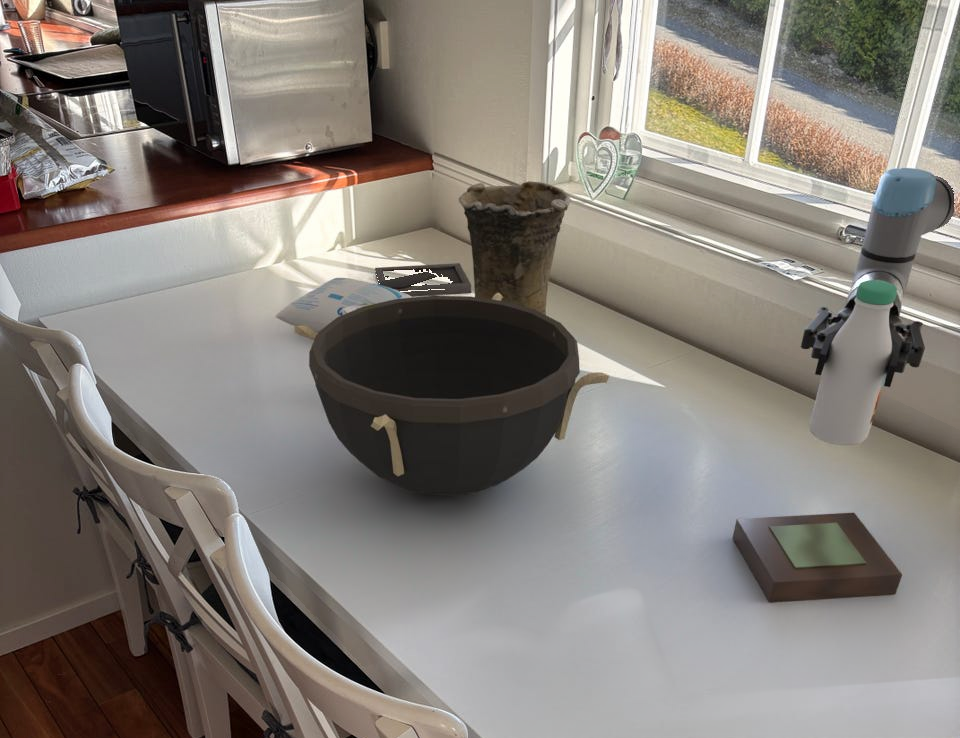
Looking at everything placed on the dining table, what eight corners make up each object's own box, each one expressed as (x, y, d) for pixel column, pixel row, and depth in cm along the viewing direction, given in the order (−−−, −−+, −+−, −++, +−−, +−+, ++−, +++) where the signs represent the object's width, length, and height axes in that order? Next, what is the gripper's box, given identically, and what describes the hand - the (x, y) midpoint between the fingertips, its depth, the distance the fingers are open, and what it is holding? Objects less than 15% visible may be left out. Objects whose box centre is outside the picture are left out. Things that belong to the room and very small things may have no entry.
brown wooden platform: (848, 531, 127) (854, 510, 125) (895, 594, 116) (903, 573, 114) (732, 538, 125) (736, 517, 123) (769, 602, 115) (774, 581, 113)
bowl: (373, 573, 118) (362, 426, 105) (290, 447, 143) (274, 316, 130) (617, 511, 130) (634, 372, 117) (502, 404, 155) (506, 280, 142)
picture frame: (382, 298, 190) (471, 292, 193) (382, 288, 189) (471, 282, 192) (375, 275, 200) (459, 270, 203) (374, 265, 199) (459, 261, 202)
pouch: (363, 315, 163) (418, 275, 176) (271, 300, 169) (331, 262, 183) (368, 359, 168) (421, 317, 181) (278, 342, 174) (336, 303, 188)
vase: (471, 375, 163) (472, 209, 146) (451, 334, 177) (449, 178, 160) (572, 366, 166) (584, 203, 149) (544, 327, 180) (553, 173, 163)
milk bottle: (859, 452, 125) (904, 301, 112) (801, 437, 128) (838, 288, 115) (873, 429, 130) (917, 282, 118) (817, 415, 133) (854, 270, 121)
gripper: (940, 346, 134) (932, 413, 118) (792, 323, 140) (765, 384, 124) (958, 292, 130) (952, 355, 113) (804, 271, 136) (777, 327, 119)
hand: (854, 370), depth 119 cm, fingers closed on milk bottle, 8 cm apart
